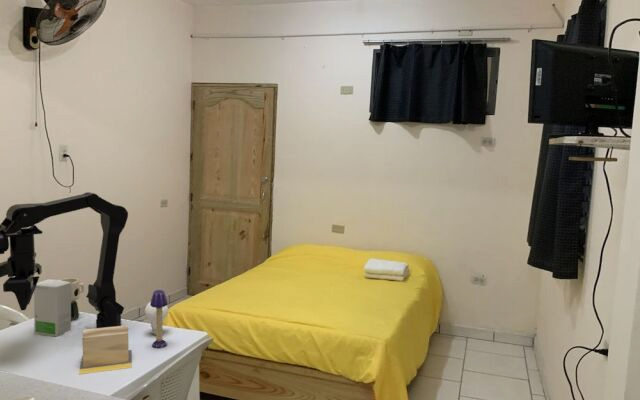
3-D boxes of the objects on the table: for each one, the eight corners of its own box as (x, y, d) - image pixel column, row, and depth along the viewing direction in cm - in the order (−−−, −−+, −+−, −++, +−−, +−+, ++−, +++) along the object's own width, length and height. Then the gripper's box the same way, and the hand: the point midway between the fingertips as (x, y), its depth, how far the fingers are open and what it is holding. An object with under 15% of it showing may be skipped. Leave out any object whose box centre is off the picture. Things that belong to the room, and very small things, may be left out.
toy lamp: (171, 347, 145) (170, 291, 143) (156, 352, 142) (155, 294, 140) (162, 342, 149) (161, 287, 147) (147, 347, 145) (146, 290, 143)
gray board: (82, 357, 138) (82, 355, 138) (131, 351, 142) (131, 349, 142) (78, 375, 127) (78, 374, 127) (131, 369, 131) (131, 367, 131)
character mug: (56, 326, 159) (54, 286, 157) (46, 320, 163) (44, 281, 162) (90, 317, 167) (89, 279, 166) (79, 312, 172) (78, 275, 170)
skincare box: (34, 334, 152) (31, 284, 150) (50, 326, 159) (48, 278, 157) (57, 337, 150) (55, 286, 149) (73, 329, 157) (71, 280, 155)
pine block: (85, 358, 136) (84, 329, 135) (128, 352, 140) (127, 325, 139) (83, 367, 131) (82, 338, 130) (128, 362, 134) (127, 333, 133)
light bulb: (148, 330, 157) (147, 296, 156) (170, 330, 158) (169, 296, 156) (142, 339, 151) (142, 303, 149) (165, 339, 151) (165, 303, 150)
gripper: (-4, 245, 142) (-1, 299, 144) (-23, 261, 124) (-19, 322, 126) (40, 243, 146) (43, 296, 148) (29, 258, 128) (31, 317, 130)
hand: (25, 307), depth 138 cm, fingers open, 4 cm apart
